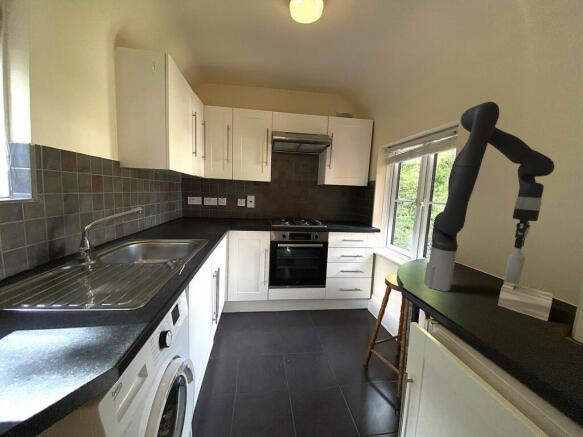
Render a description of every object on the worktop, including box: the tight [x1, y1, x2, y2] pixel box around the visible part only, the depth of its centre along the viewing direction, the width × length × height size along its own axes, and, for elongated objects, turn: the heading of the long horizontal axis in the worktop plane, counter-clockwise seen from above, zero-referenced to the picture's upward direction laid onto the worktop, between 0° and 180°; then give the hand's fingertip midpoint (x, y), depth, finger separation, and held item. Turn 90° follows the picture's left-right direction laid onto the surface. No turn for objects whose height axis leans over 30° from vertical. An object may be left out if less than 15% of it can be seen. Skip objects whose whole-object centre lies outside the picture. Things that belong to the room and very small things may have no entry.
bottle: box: [502, 240, 526, 286], centre depth 102 cm, size 5×5×25 cm
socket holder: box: [497, 281, 554, 322], centre depth 90 cm, size 13×13×7 cm
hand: (518, 246), depth 101 cm, fingers open, 8 cm apart
